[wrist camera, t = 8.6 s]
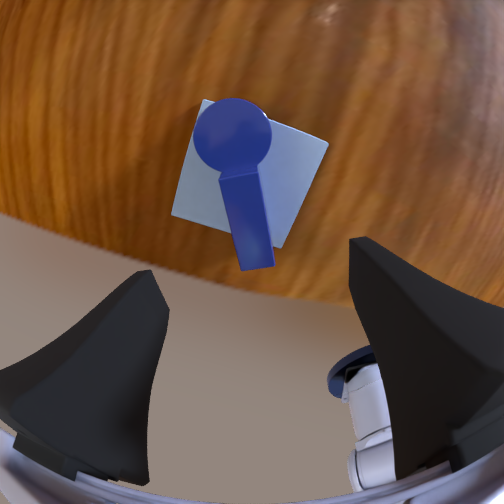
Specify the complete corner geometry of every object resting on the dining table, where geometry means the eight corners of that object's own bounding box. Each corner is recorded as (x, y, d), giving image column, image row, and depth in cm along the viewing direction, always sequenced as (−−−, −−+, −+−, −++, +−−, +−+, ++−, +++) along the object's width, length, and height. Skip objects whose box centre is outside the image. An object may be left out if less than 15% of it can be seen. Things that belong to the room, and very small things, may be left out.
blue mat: (327, 142, 14) (329, 143, 13) (280, 245, 17) (281, 249, 17) (204, 99, 13) (203, 99, 12) (172, 212, 16) (170, 215, 16)
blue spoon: (287, 235, 16) (293, 264, 14) (228, 245, 17) (224, 274, 14) (263, 92, 12) (265, 90, 10) (194, 107, 13) (179, 109, 10)
